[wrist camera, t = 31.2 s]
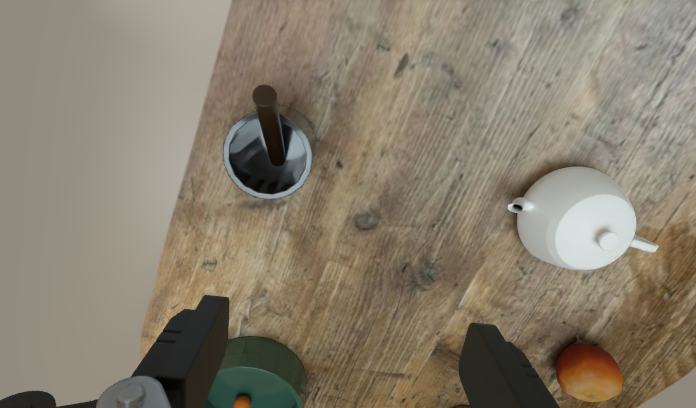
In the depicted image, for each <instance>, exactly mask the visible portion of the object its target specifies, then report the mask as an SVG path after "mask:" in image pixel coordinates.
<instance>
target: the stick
mask: <svg viewBox="0 0 696 408" xmlns="http://www.w3.org/2000/svg"><path fill="white" fill-rule="evenodd" d="M252 97H253V101H254V105H255V108H256V112H257V115H258V119H259V123H260V126H261V130H262V133H263V137H264V141H265V144H266V148H267V151H268V155H269V159H270V162H271V163H272V164H273V165H274V166H281V165H283V164H284V163H285V160H286V157H285V150H284V143H283V136H282V129H281V122H280V115H279V108H278V101H277V94H276V91H275V90H274V89H273V88H272V87H271V86H268V85H260V86H258V87H257V88H256V89H255V90H254V91H253V95H252Z"/></svg>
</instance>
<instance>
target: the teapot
mask: <svg viewBox="0 0 696 408" xmlns="http://www.w3.org/2000/svg"><path fill="white" fill-rule="evenodd" d="M508 210H509V211H511V212H515V213H517V229H518V234H519V237H520V239H521V241H522V243H523V245H524V246H525V248H526V249H527V250H528V251H529V253H530V254H532V255H533V256H535V257H537V258H538V259H540V260H542V261H544V262H547V263H550V264H553V265H556V266H559V267H563V268H567V269H573V270H591V269H597V268H601V267H604V266H606V265H608V264H610V263H612V262H614V261H615V260H616V259H618V258H619V257H620V256H621V255H622V254H623V253H624V252H625V251H626V250H627V249H628V247H629V246H630V247H634V248H637V249H641V250H644V251H648V252H655V251H656V250H657V248H658V247H659V245H657V244H655V243H653V242H651V241H649V240H647V239H644V238H642V237H640V236H637V235H635V231H636V217H635V213H634V209H633V207H632V205H631V203H630V201H629V199H628V197H627V196H626V195H625V193H624V192H623V191H622V189H621V188H620V187H619V186H618V185H617V184H616V183H615V182H614V181H613V180H612V179H611V178H610V177H609V176H607V175H606V174H604V173H602V172H600V171H598V170H595V169H592V168H587V167H567V168H562V169H558V170H555V171H553V172H551V173H549V174H547V175H545V176H543V177H542V178H540V179H539V180H538V181H537V182H535V183H534V184H533V185H532V186H531V187H530V189H529V190H528V191H527V192H526V194H525V195H524V197H518V198H516V199H514V200H513V203H512V204H509V205H508Z"/></svg>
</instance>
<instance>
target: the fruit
mask: <svg viewBox="0 0 696 408" xmlns="http://www.w3.org/2000/svg"><path fill="white" fill-rule="evenodd" d="M576 336H577V341H576V343H574V344H572V345H570V346H568V347H567V348H565V349H564V350H563V351H562V353H561V355H560V356H559V357H558V359H557V362H556V376H557V381H558V383H559V385H560V386H561V388H562V390H563V391H564V392H565V393H566V394H569V395H572V396H574V397H575V398H577V399H580V400H583V401H591V402H601V401H605V400H608V399H610V398H612V397H614V396H617V395H619V393H620V392H621V391H622V384H623V376H622V373H621V371H620V369H619V367H618V365H617V363H616V361H615V360H614V359H613V357H612V356H611V355H610V354H609V353H607V352H606V351H604V350H603V349H601V348H598V347H595V346H592V345H590V344H588V343H586V342H584V341H582V340H580V339H579V336H578V335H577V334H576Z"/></svg>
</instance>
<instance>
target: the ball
mask: <svg viewBox="0 0 696 408" xmlns="http://www.w3.org/2000/svg"><path fill="white" fill-rule="evenodd" d="M250 406H251V402H250V399H249V398H248V397H247V396H245V395H242V396H239V397H237V398H236V399H235V401H234V404H233V408H250Z"/></svg>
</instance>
